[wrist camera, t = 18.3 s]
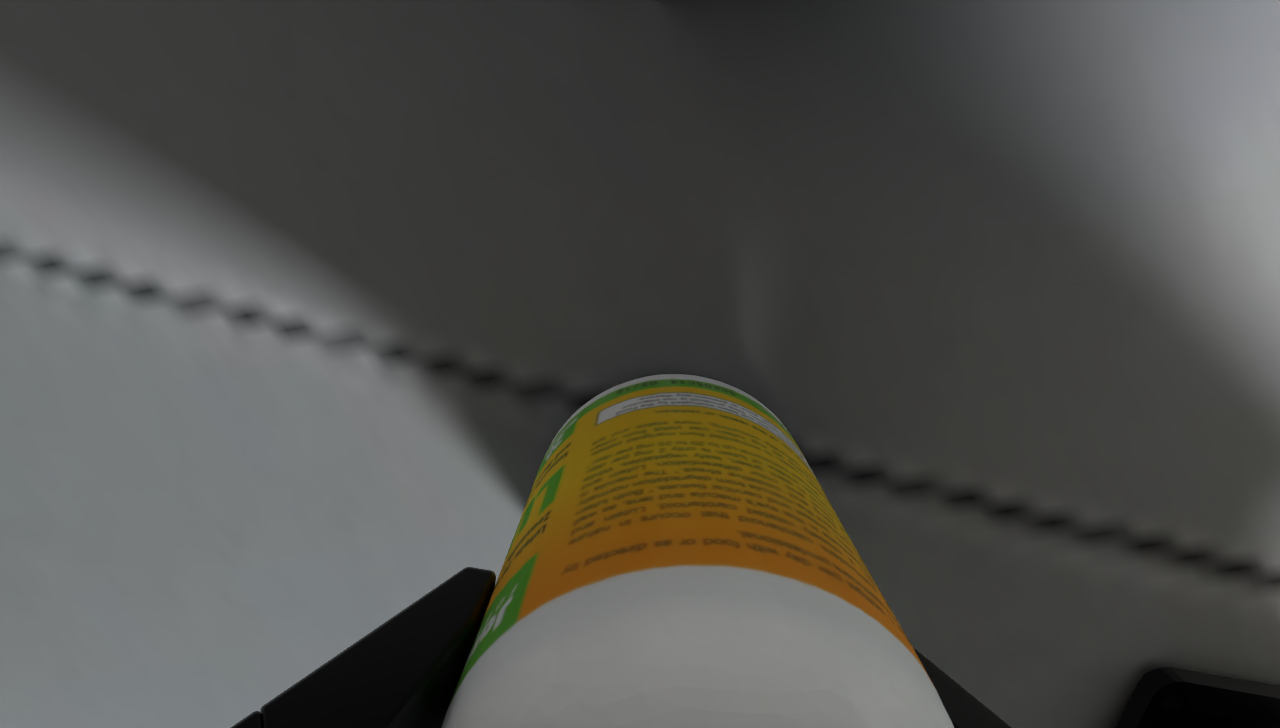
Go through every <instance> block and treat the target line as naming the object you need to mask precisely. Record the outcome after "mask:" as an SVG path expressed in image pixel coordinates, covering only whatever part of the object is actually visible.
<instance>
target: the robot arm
mask: <svg viewBox="0 0 1280 728" xmlns="http://www.w3.org/2000/svg"><path fill="white" fill-rule="evenodd" d="M495 582H496V575H495V573H494V572H493V571H490V570H484V569H478V568H473V567H467V568H464V569H463V570H461V571H460V572H458V573H457V574H455V575H454V576H453V577H451V578H450V579H448V580H447V581H445V582H444V583H442V584H441V585H439V586H438V587H436V588H435V589H433V590H432V591H431V592H429V593H428V594H426V595H425V596H423V597H422V598H420V599H419V600H417V601H416V602H414V603H413V604H412V605H410V606H409V607H407V608H406V609H404V610H403V611H401V612H400V613H398V614H397V615H395V616H394V617H392V618H391V619H390V620H388V621H387V622H385V623H384V624H382V625H381V626H379V627H378V628H376V629H375V630H373V631H372V632H371V633H369V634H368V635H366V636H365V637H363V638H362V639H360V640H359V641H357V642H356V643H354V644H353V645H352V646H350V647H349V648H347V649H346V650H344V651H343V652H341V653H340V654H338V655H337V656H335V657H334V658H332V659H331V660H330V661H328V662H327V663H325V664H324V665H322V666H321V667H319V668H318V669H316V670H315V671H313V672H312V673H311V674H309V675H308V676H306V677H305V678H303V679H302V680H300V681H299V682H297V683H296V684H294V685H293V686H291V687H290V688H289V689H287V690H286V691H284V692H283V693H281V694H280V695H278V696H277V697H275V698H274V699H272V700H271V701H270V702H268V703H267V704H265V705H264V706H262V708H261V710H260V712H259V711H255V712H253V713H252V714H250V715H249V716H247V717H246V718H244V719H243V720H241V721H240V722H238V723H237V724H235V725H234V726H232V727H231V728H442V725H443V722H444V718H445V715H446V712H447V709H448V707H449V704H450V702H451V699H452V697H453V694H454V692H455V689H456V687H457V684H458V682H459V679H460V677H461V674H462V672H463V669H464V666H465V664H466V661H467V659H468V656H469V653H470V651H471V648H472V646H473V643H474V640H475V638H476V635H477V632H478V630H479V627H480V625H481V622H482V619H483V617H484V614H485V611H486V609H487V606H488V604H489V601H490V598H491V596H492V593H493V591H494V588H495ZM913 649H914V648H913ZM914 650H915V652H916V654H917V656H918V658H919V660H920V661H921V663H922V665H923V667H924V669H925V670H926V672H927V674H928V676H929V678H930V679H931V681H932V683H933V685H934V687H935V689H936V690H937V692H938V695H939V697H940V699H941V701H942V704H943V706H944V708H945V710H946V712H947V714H948V716H949V717H950V719H951V721H952V724H953V726H954V728H1011V727H1010V726H1009V725H1008V724H1006V723H1005V722H1004V721H1003V720H1001V719H1000V718H999V717H998V716H997V715H995V714H994V713H993V712H992V711H990V710H989V709H988V708H987V707H986V706H984V705H983V704H982V703H981V702H979V701H978V700H977V699H976V698H974V697H973V696H972V695H971V694H970V693H968V692H967V691H966V690H965V689H963V688H962V687H961V686H960V685H959V684H957V683H956V682H955V681H954V680H952V679H951V678H950V677H949V676H947V675H946V674H945V673H944V672H943V671H941V670H940V669H939V668H938V667H936V666H935V665H934V664H933V663H932V662H930V661H929V660H928V659H927V658H925V657H924V656H923V655H922V654H920V653H919V652H918V651H917V650H916V649H914ZM1115 728H1280V687H1277V686H1271V685H1265V684H1260V683H1254V682H1248V681H1243V680H1237V679H1232V678H1226V677H1220V676H1215V675H1209V674H1204V673H1198V672H1192V671H1187V670H1181V669H1175V668H1167V667H1161V668H1157V669H1154V670H1151V671H1150V672H1148V673H1147V674H1145V675H1144V676H1143V677H1142V678H1141V679H1140V681H1139V682H1138V684H1137V686H1136V688H1135V690H1134V692H1133V694H1132V695H1131V697H1130V699H1129V701H1128V703H1127V705H1126V707H1125V709H1124V711H1123V713H1122V715H1121V717H1120V719H1119V721H1118V723H1117V725H1116V727H1115Z"/></svg>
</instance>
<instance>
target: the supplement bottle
mask: <svg viewBox="0 0 1280 728" xmlns="http://www.w3.org/2000/svg"><path fill="white" fill-rule="evenodd" d="M442 728H954V726H953V724H952V721H951V719H950V717H949V716H948V714H947V712H946V710H945V708H944V706H943V704H942V701H941V699H940V697H939V695H938V692H937V690H936V689H935V687H934V685H933V683H932V681H931V679H930V678H929V676H928V674H927V672H926V670H925V669H924V667H923V665H922V663H921V661H920V660H919V658H918V656H917V654H916V652H915V650H914V649H913V647H912V645H911V643H910V642H909V640H908V638H907V637H906V635H905V633H904V632H903V630H902V628H901V626H900V625H899V623H898V621H897V619H896V618H895V616H894V614H893V613H892V611H891V609H890V607H889V606H888V604H887V602H886V600H885V599H884V597H883V595H882V594H881V592H880V590H879V588H878V587H877V585H876V583H875V581H874V580H873V578H872V576H871V574H870V573H869V571H868V569H867V567H866V566H865V564H864V562H863V560H862V559H861V557H860V555H859V553H858V551H857V550H856V548H855V546H854V544H853V543H852V541H851V539H850V538H849V536H848V534H847V532H846V531H845V529H844V527H843V525H842V524H841V522H840V520H839V518H838V516H837V515H836V513H835V511H834V509H833V507H832V506H831V504H830V502H829V500H828V499H827V497H826V495H825V493H824V491H823V490H822V488H821V486H820V484H819V482H818V481H817V479H816V477H815V475H814V473H813V471H812V470H811V468H810V466H809V464H808V462H807V461H806V459H805V457H804V455H803V453H802V452H801V450H800V448H799V447H798V445H797V444H796V442H795V440H794V439H793V438H792V436H791V435H790V433H789V432H788V430H787V429H786V428H785V426H784V425H783V424H782V422H781V421H780V420H779V419H778V418H777V417H776V416H775V415H774V414H773V413H772V412H771V411H770V410H769V409H768V408H767V407H765V406H764V405H763V404H762V403H760V402H759V401H758V400H756V399H755V398H754V397H752V396H750V395H749V394H747V393H745V392H744V391H742V390H740V389H738V388H735V387H733V386H731V385H728V384H725V383H723V382H720V381H716V380H713V379H709V378H705V377H700V376H695V375H685V374H661V375H653V376H647V377H642V378H638V379H634V380H631V381H628V382H625V383H622V384H620V385H617V386H614V387H612V388H610V389H608V390H606V391H604V392H602V393H601V394H599V395H597V396H595V397H594V398H593V399H591V400H590V401H588V402H587V403H585V404H584V405H583V406H582V407H581V408H579V409H578V410H577V411H576V412H575V413H574V414H573V415H572V416H571V417H570V418H569V419H568V420H567V421H566V423H565V424H564V425H563V426H562V427H561V429H560V430H559V431H558V433H557V435H556V436H555V438H554V439H553V441H552V443H551V445H550V446H549V448H548V450H547V452H546V454H545V457H544V459H543V461H542V463H541V465H540V468H539V470H538V473H537V476H536V478H535V481H534V484H533V487H532V490H531V493H530V495H529V498H528V501H527V503H526V506H525V509H524V511H523V514H522V516H521V519H520V522H519V525H518V528H517V530H516V533H515V535H514V538H513V540H512V543H511V546H510V548H509V551H508V554H507V556H506V559H505V562H504V564H503V567H502V570H501V572H500V575H499V578H498V580H497V583H496V585H495V588H494V591H493V593H492V596H491V598H490V601H489V604H488V606H487V609H486V611H485V614H484V617H483V619H482V622H481V625H480V627H479V630H478V632H477V635H476V638H475V640H474V643H473V646H472V648H471V651H470V653H469V656H468V659H467V661H466V664H465V666H464V669H463V672H462V674H461V677H460V679H459V682H458V684H457V687H456V689H455V692H454V694H453V697H452V699H451V702H450V704H449V707H448V709H447V712H446V715H445V718H444V722H443V725H442Z"/></svg>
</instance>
